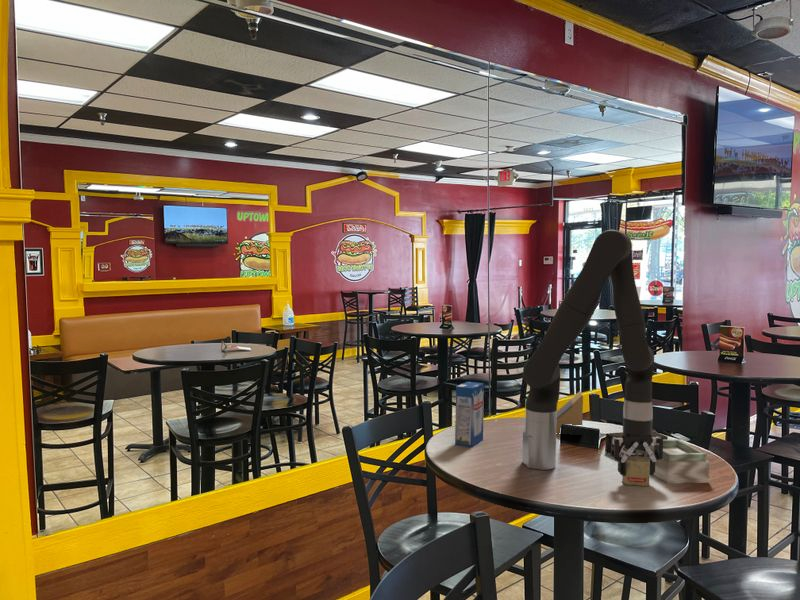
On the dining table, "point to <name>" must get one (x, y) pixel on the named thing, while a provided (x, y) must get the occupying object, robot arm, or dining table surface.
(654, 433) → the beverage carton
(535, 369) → the robot arm
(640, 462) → the lighter
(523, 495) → the dining table surface
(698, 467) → the stand
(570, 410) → the sandwich container
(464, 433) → the milk carton
